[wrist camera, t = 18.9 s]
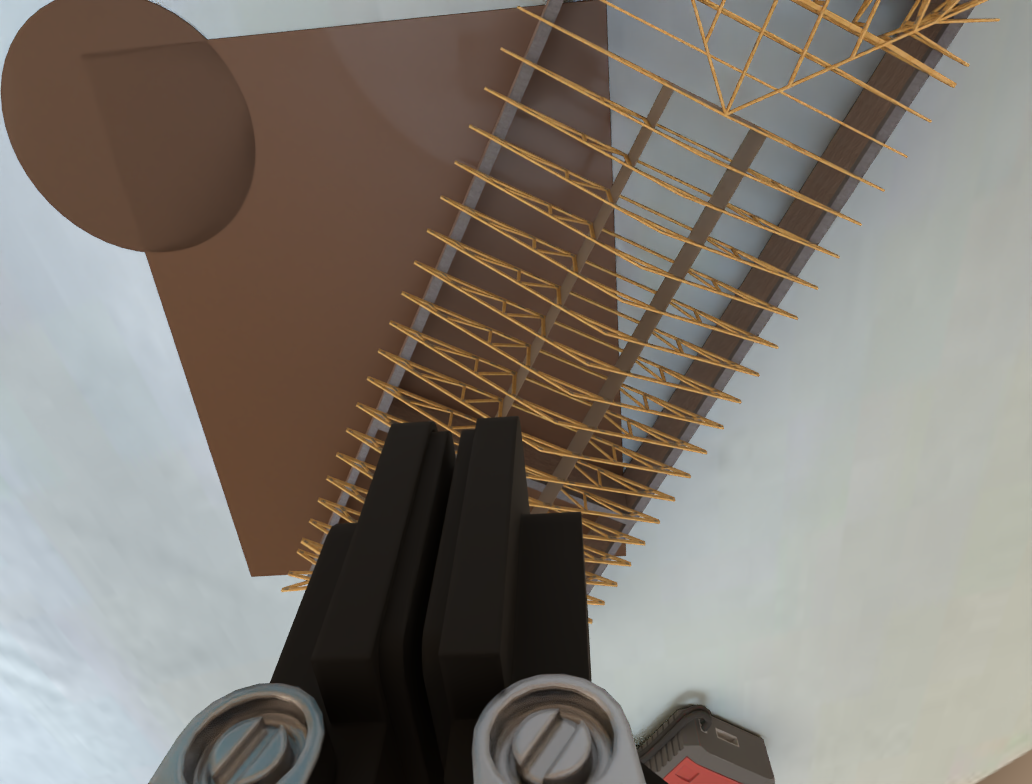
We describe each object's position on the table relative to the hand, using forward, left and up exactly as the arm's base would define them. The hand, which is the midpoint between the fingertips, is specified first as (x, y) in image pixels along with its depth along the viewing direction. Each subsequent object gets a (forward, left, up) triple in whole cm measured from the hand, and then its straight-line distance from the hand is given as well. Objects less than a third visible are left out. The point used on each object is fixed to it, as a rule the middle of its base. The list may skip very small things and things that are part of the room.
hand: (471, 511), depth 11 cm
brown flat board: (+8, +7, -24) cm, 26 cm away
